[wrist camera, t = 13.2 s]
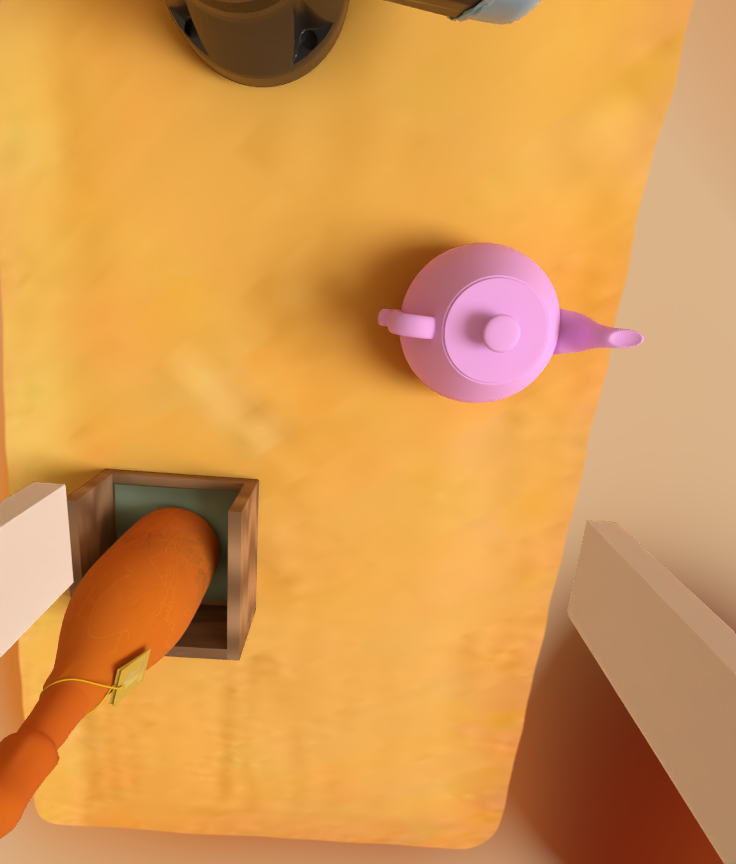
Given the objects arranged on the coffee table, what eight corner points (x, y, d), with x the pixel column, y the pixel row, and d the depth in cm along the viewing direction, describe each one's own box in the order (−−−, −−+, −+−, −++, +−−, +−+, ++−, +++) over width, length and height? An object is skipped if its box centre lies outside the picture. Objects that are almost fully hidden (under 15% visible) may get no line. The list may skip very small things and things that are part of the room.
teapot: (591, 254, 49) (665, 243, 37) (566, 399, 53) (626, 433, 41) (381, 239, 49) (387, 224, 37) (371, 387, 52) (374, 418, 40)
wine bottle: (172, 600, 57) (-23, 923, 28) (112, 533, 55) (-168, 809, 26) (243, 555, 56) (114, 845, 27) (184, 484, 53) (-26, 718, 24)
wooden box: (105, 469, 54) (62, 499, 46) (258, 479, 55) (241, 512, 47) (113, 601, 59) (75, 650, 51) (255, 610, 59) (239, 660, 51)
